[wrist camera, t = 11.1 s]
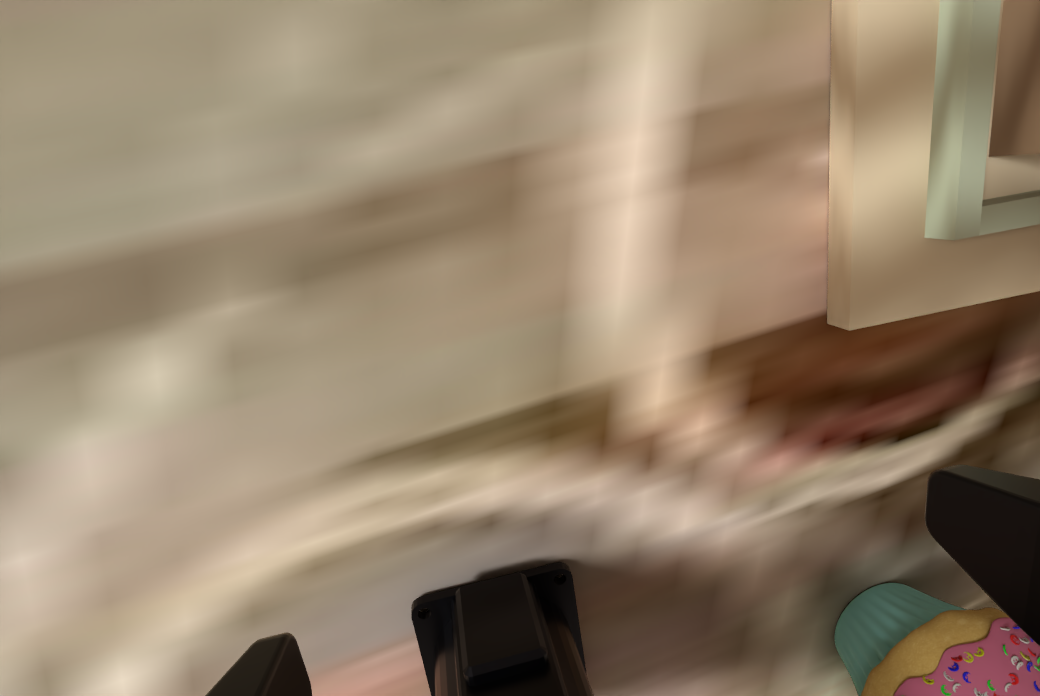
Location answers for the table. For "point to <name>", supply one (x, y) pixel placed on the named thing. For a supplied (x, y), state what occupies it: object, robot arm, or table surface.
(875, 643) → the cupcake
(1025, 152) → the block
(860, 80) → the board
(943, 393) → the table surface
